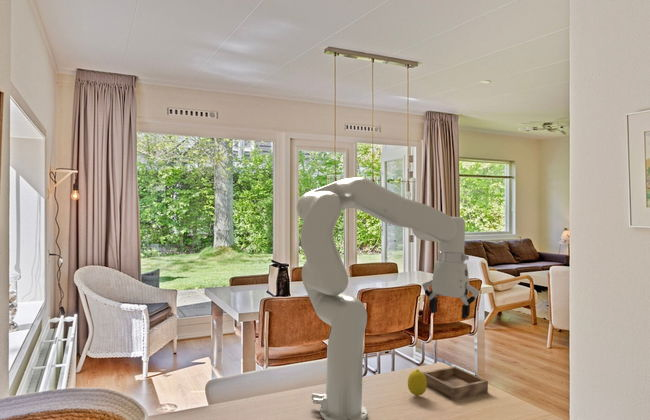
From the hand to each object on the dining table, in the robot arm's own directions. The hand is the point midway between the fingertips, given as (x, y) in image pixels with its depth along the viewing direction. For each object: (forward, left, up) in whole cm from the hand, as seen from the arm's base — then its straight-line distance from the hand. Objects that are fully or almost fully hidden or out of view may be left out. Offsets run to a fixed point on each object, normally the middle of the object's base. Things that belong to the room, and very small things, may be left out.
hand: (449, 315), depth 133 cm
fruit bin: (+2, +6, -24) cm, 25 cm away
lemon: (-8, -5, -24) cm, 26 cm away
